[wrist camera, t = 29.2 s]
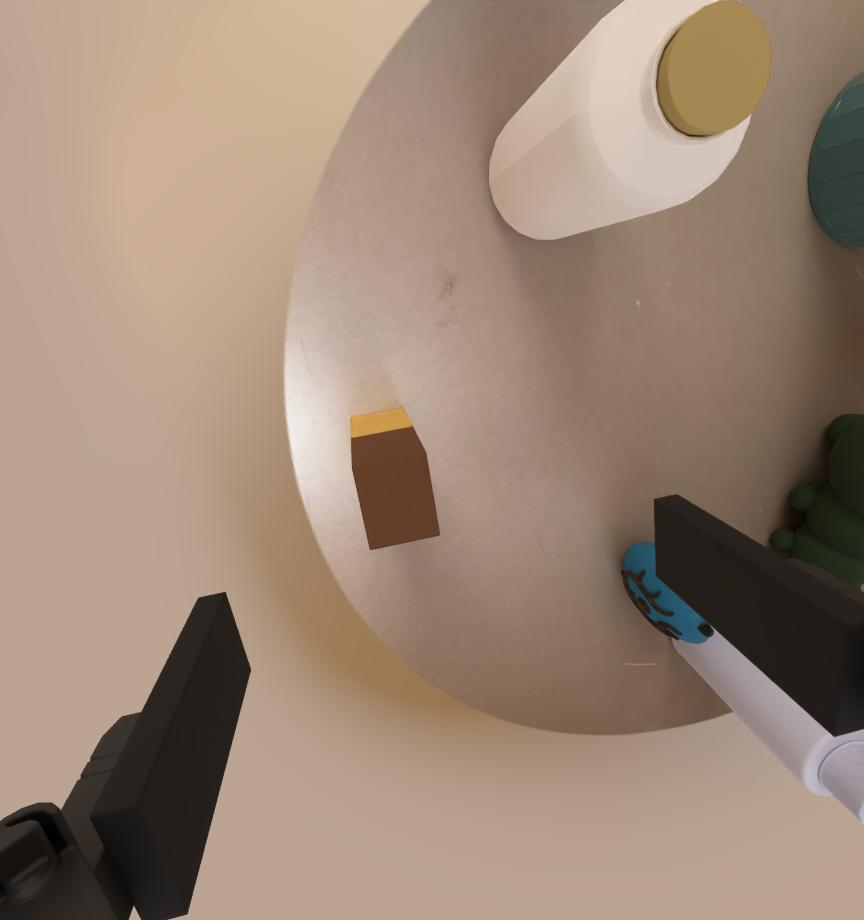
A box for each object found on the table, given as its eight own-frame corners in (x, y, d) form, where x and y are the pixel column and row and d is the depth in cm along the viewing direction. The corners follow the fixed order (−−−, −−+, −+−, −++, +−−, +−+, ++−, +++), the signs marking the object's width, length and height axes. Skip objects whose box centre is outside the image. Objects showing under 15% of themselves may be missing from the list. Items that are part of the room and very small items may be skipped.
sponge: (363, 479, 40) (370, 550, 29) (350, 417, 39) (351, 466, 27) (414, 469, 41) (440, 535, 29) (403, 407, 39) (426, 452, 28)
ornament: (597, 543, 45) (663, 608, 36) (644, 517, 45) (722, 576, 36) (628, 613, 48) (697, 690, 38) (673, 589, 48) (752, 661, 38)
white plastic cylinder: (613, 121, 35) (858, -40, 18) (585, 251, 38) (780, 214, 21) (497, 93, 34) (647, -111, 17) (475, 230, 36) (588, 171, 19)
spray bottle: (725, 645, 51) (986, 885, 30) (668, 659, 50) (894, 913, 30) (728, 592, 49) (1008, 809, 28) (668, 606, 48) (910, 837, 28)
